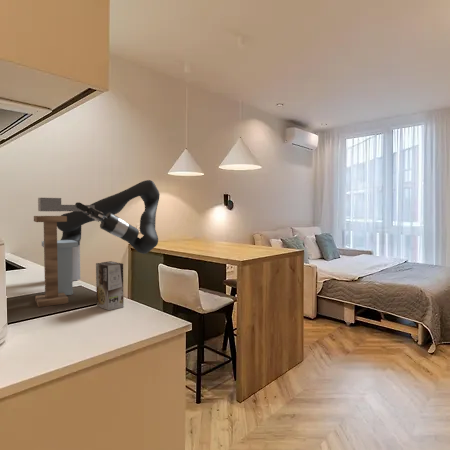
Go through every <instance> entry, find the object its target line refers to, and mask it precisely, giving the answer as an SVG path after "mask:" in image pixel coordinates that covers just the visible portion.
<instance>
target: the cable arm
mask: <svg viewBox="0 0 450 450" xmlns="http://www.w3.org/2000/svg"><path fill="white" fill-rule="evenodd" d="M84 205H85V206H87V207H90V208H93V209H95V205H90V204H84ZM37 210H38V212H73V211H82V210H81V209H79V208H77V207H76V205H75V204H62V198H61V197H38V198H37Z"/></svg>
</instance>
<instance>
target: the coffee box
mask: <svg viewBox="0 0 450 450" xmlns="http://www.w3.org/2000/svg"><path fill="white" fill-rule="evenodd" d="M95 278H96V279H95V281H96V282H95V285H96V286H95V287H96V306H97V307H99V308H102V309H105V310H107V311H111V310H117V309H120V308H122V309H123V308H124V305H125V304H124V263H120V262H117V261H112V260H111V261H103V262H96V263H95Z"/></svg>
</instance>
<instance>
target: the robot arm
mask: <svg viewBox="0 0 450 450" xmlns="http://www.w3.org/2000/svg"><path fill="white" fill-rule="evenodd" d="M137 197H140V198H141V200H142V201H143V204H144V211H143V212H142V213H141V216H140V219H139V229H138V228H137V227H135V226H133V225H132V224H130V223H128V222H127V221H125V220H124V219H122V218H120V217H119V216H117V214H119V213H120V212H121V211H122V210H123V209H124V208H125V206H126V205H127V204H128V203H129V202H130V201H131V200H133V199H136V198H137ZM159 202H160V191H159V189H158V187H157V186H156V184H155V183H154V181H153V180H150V179H146V180H143V181H141V182H140V181H139V183H137V184H134V185H132V186H130V187H128V188H127V189H124V190H122V191H119V192H118V193H115V194H112V195H110V196H107V197H105V198H102V199H99V200H97V201H95V202H93V203H90V204H89V205H95V209H93V208H90V207H87V206H85V205H86V204H83V203H82V202H80V201H79V202H75V204H74V205H76V207H77V208H79V209H81V210H82V211H69V212H67V213H63V214H61V215H60V216H67V222H57V230H59V231H61V232H62V234H61V235H62V236H61V238H60V240H74V241H76V242H78V247H72V282H74V281H79V280H81V240H82V226H83V225H84V224H88V223H91V222H98V223H100V225H99V228H100V229H101V230H104V231H105V232H107V233H109V234H111V235H112V236H114V237H117V238H119V239H121V240H123V241H125V242H127V243H128V244H129V245H130V246H131V247H132V248H133V249H134V250H136V252H138V253H140V254H143V255H145V254H149V252H151V251H152V250H153V249H155V247H157V245H158V244H159V237H158V233H157V230H156V219H157V210H158V207H159V206H158V205H159ZM139 232H140V234H141V235H142V236H141V237H139Z"/></svg>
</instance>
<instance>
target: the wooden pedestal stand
mask: <svg viewBox="0 0 450 450" xmlns="http://www.w3.org/2000/svg"><path fill="white" fill-rule="evenodd" d="M33 222H36V223H43V241H44V247H43V253H44V254H43V255H44V256H43V258H44V260H43V261H44V294H39V295H35V303H36V305H37V308H41V307H42V308H43V307H50V306H56V305H63V304H69V297H68V295H65V294H64V293H58V260H57V240H58V227H57V222H67V216H61V215H34V216H33Z"/></svg>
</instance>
